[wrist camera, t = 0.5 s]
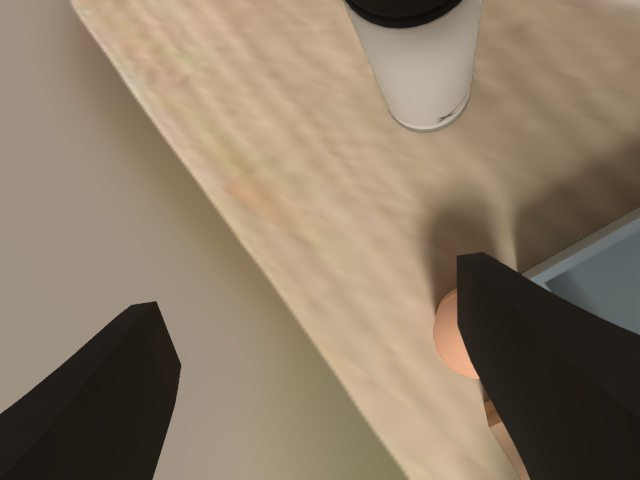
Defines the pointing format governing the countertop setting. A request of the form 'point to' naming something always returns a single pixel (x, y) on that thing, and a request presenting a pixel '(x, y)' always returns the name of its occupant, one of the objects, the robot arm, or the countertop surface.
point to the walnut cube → (504, 440)
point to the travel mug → (420, 56)
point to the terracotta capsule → (451, 337)
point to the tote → (599, 272)
